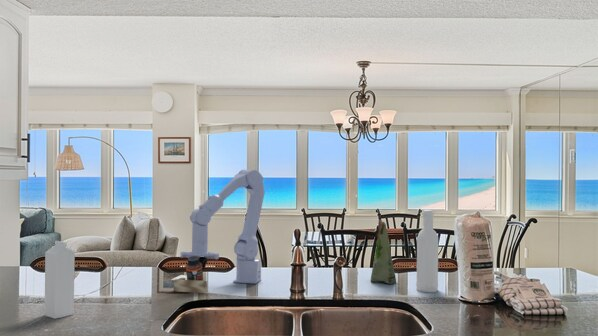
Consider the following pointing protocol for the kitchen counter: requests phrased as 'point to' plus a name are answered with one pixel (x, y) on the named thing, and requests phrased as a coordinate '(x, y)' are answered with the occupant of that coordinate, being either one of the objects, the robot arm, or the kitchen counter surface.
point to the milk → (59, 281)
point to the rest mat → (180, 277)
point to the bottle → (427, 255)
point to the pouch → (383, 258)
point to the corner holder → (190, 285)
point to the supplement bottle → (194, 269)
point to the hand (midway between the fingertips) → (199, 277)
